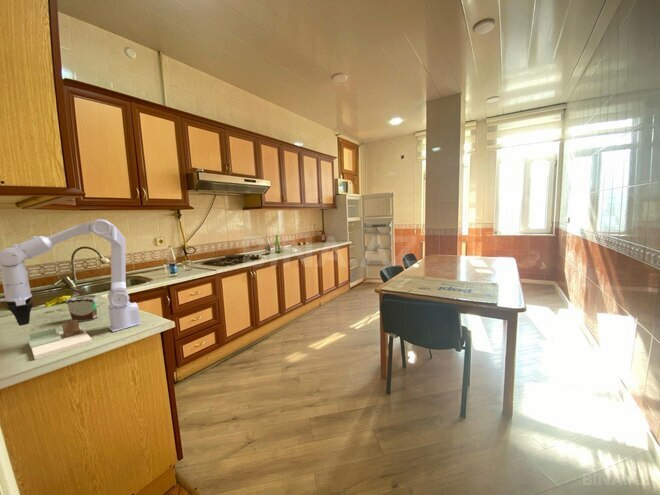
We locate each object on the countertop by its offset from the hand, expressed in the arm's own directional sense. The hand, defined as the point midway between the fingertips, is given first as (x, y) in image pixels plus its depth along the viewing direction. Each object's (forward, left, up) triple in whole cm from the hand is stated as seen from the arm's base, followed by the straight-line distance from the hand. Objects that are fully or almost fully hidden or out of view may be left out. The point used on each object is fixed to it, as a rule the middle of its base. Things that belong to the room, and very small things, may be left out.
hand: (23, 322), depth 92 cm
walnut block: (-11, 0, -10) cm, 15 cm away
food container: (-20, -23, -10) cm, 32 cm away
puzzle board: (-8, +3, -10) cm, 13 cm away
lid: (-4, 0, -8) cm, 9 cm away
